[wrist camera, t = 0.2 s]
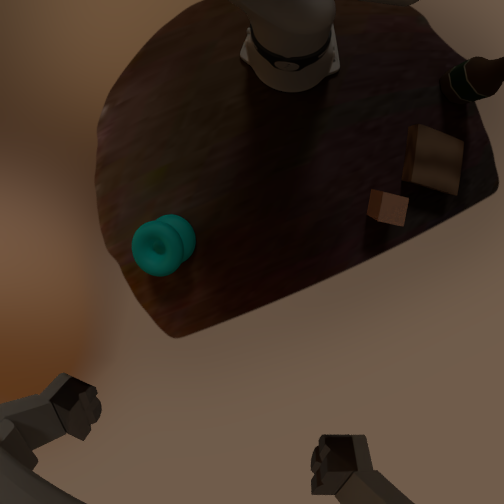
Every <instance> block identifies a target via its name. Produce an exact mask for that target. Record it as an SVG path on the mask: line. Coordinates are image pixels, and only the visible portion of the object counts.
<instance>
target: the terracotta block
mask: <svg viewBox="0 0 504 504" xmlns="http://www.w3.org/2000/svg"><path fill="white" fill-rule="evenodd" d="M408 201H409V198H406V197H402V196H398V195H395V194H390V193H386V192H382V191H378V190H373V189H371V195H370V200H369V206H368V211H367V215H368V216H370V217H372V218H373V219H375V220H377V221H380V222H384V223H389V224H394V225H398V226H404V221H405V216H406V211H407V206H408Z"/></svg>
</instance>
